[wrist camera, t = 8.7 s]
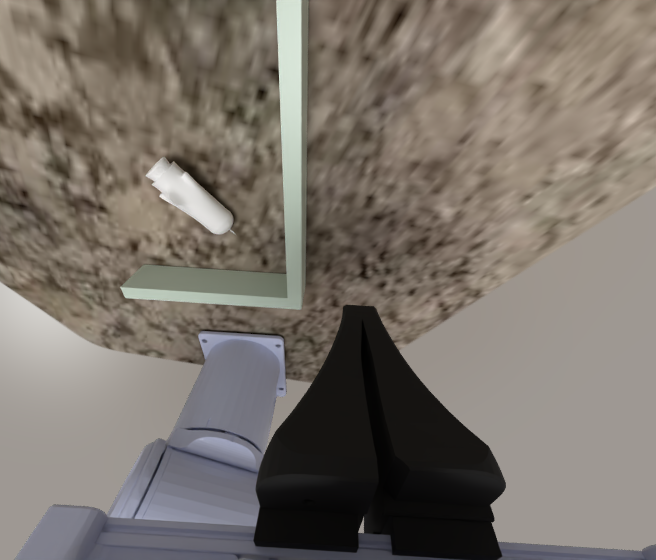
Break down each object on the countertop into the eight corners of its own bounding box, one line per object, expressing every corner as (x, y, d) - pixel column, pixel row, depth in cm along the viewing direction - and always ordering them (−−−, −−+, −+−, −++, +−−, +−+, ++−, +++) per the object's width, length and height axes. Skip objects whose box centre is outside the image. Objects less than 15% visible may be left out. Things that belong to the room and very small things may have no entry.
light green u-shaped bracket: (305, 285, 23) (301, 309, 21) (147, 274, 23) (125, 297, 21) (308, -33, 13) (301, -57, 10) (21, -52, 13) (-54, -81, 10)
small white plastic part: (198, 238, 21) (179, 260, 19) (157, 154, 18) (127, 167, 16) (243, 231, 21) (230, 253, 18) (210, 144, 18) (188, 155, 15)
